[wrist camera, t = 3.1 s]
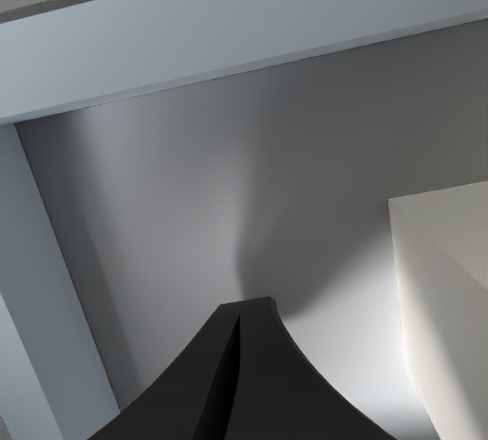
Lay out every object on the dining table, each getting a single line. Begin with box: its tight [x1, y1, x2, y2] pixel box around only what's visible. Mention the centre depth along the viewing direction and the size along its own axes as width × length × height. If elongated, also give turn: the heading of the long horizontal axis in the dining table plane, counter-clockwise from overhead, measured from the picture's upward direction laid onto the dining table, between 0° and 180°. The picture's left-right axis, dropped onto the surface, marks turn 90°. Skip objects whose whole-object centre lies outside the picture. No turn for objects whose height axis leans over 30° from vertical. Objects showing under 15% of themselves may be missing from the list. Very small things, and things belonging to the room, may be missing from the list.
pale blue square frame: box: [0, 0, 488, 440], centre depth 9 cm, size 15×14×4 cm
